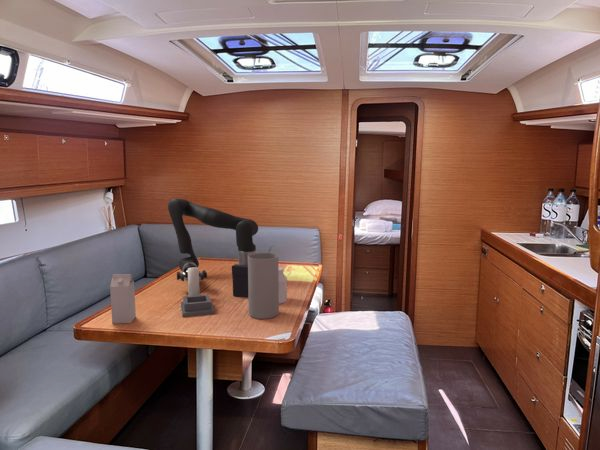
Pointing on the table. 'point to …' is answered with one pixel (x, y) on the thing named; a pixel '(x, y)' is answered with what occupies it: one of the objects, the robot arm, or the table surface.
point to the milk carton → (122, 298)
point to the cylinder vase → (263, 285)
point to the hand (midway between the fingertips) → (192, 278)
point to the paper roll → (193, 281)
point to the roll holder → (196, 305)
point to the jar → (282, 286)
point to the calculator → (240, 280)
